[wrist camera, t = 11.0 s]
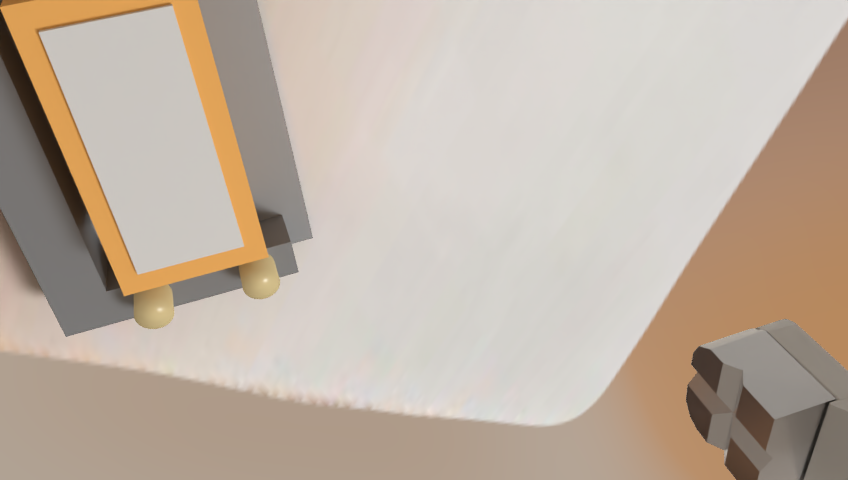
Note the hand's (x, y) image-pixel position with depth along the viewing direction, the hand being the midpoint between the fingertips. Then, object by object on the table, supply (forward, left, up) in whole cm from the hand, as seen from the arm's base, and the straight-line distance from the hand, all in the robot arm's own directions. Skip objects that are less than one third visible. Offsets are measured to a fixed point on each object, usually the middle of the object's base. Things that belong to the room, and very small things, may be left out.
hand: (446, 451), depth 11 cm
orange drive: (+2, -4, -20) cm, 21 cm away
